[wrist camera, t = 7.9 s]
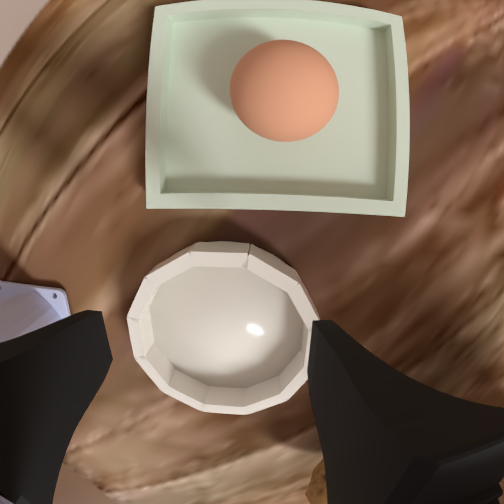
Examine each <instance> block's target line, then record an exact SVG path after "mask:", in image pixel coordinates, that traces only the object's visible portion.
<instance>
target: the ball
mask: <svg viewBox="0 0 504 504" xmlns="http://www.w3.org/2000/svg"><path fill="white" fill-rule="evenodd" d="M230 98H231V102H232V106H233V108H234V111H235V113H236V114H237V116H238V117H239V119H240V120H241V121H242V123H243V124H244V125H245V126H246V127H248V128H249V129H250V130H251V131H253V132H254V133H256V134H257V135H259V136H261V137H264V138H266V139H269V140H273V141H279V142H292V141H298V140H302V139H305V138H308V137H310V136H312V135H314V134H316V133H317V132H319V131H320V130H321V129H322V128H323V127H324V126H325V125H326V124H327V123H328V122H329V121H330V119H331V118H332V116H333V114H334V112H335V110H336V108H337V104H338V99H339V85H338V80H337V77H336V74H335V72H334V70H333V68H332V66H331V65H330V63H329V62H328V61H327V59H326V58H325V57H324V56H323V55H322V54H321V53H320V52H318V51H317V50H315V49H314V48H312V47H310V46H308V45H306V44H304V43H301V42H297V41H293V40H273V41H268V42H265V43H262V44H260V45H258V46H256V47H254V48H253V49H251V50H250V51H248V52H247V53H246V54H245V55H244V56H243V57H242V58H241V59H240V60H239V62H238V63H237V65H236V67H235V69H234V71H233V73H232V76H231V80H230Z"/></svg>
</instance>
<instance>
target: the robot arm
mask: <svg viewBox="0 0 504 504" xmlns="http://www.w3.org/2000/svg"><path fill="white" fill-rule="evenodd" d="M55 294H56V295H57V296H56V295H55ZM112 360H113V358H112V354H111V350H110V346H109V342H108V338H107V334H106V329H105V325H104V320H103V316H102V311H93V310H86V311H82V312H79V313H76V314H73V315H71V314H70V309H69V305H68V300H67V295H66V293H65V291H64V290H63V289H61V288H53V287H45V286H37V285H29V284H22V283H14V282H7V281H0V504H52V503H53V496H54V491H55V487H56V483H57V479H58V475H59V471H60V468H61V465H62V462H63V459H64V456H65V453H66V450H67V448H68V445H69V443H70V440H71V438H72V435H73V433H74V431H75V429H76V427H77V425H78V423H79V421H80V420H81V418H82V416H83V415H84V413H85V411H86V410H87V408H88V406H89V405H90V403H91V401H92V400H93V398H94V397H95V395H96V393H97V392H98V390H99V388H100V387H101V385H102V383H103V381H104V379H105V377H106V375H107V373H108V370H109V368H110V365H111V362H112ZM307 375H308V386H309V395H310V400H311V404H312V409H313V413H314V417H315V421H316V426H317V430H318V434H319V438H320V443H321V447H322V452H323V458H324V466H325V477H326V489H327V504H500V502H499V500H498V498H499V497H501V496H502V495H503V490H502V488H501V486H500V484H499V483H500V481H501V480H502V479H503V478H504V408H500V407H494V406H488V405H483V404H478V403H474V402H470V401H467V400H463V399H460V398H457V397H454V396H451V395H448V394H445V393H442V392H440V391H438V390H435V389H433V388H430V387H428V386H426V385H423V384H421V383H419V382H417V381H415V380H413V379H411V378H410V377H408V376H406V375H404V374H402V373H401V372H399V371H397V370H395V369H394V368H392V367H391V366H389V365H388V364H386V363H385V362H383V361H382V360H380V359H379V358H378V357H376V356H375V355H373V354H372V353H371V352H369V351H368V350H367V349H366V348H364V347H363V346H362V345H360V344H359V343H358V342H357V341H356V340H354V339H353V338H352V337H351V336H350V335H349V334H347V333H346V332H345V331H344V330H343V329H342V328H340V327H339V326H338V325H337V324H336V323H335V322H333V321H332V320H313V321H312V331H311V341H310V350H309V359H308V367H307Z"/></svg>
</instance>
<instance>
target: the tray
mask: <svg viewBox="0 0 504 504" xmlns="http://www.w3.org/2000/svg"><path fill="white" fill-rule="evenodd" d="M273 40H293V41H297V42H301V43H304V44H306V45H308V46H310V47H312V48H314V49H315V50H317V51H318V52H320V53H321V54H322V55H323V56H324V57H325V58H326V59H327V61H328V62H329V63H330V65H331V66H332V68H333V70H334V72H335V74H336V77H337V80H338V85H339V99H338V104H337V108H336V110H335V112H334V114H333V116H332V118H331V119H330V121H329V122H328V123H327V124H326V125H325V126H324V127H323V128H322V129H321V130H320V131H319V132H317V133H316V134H314V135H312V136H310V137H308V138H305V139H302V140H298V141H292V142H279V141H273V140H269V139H266V138H264V137H261V136H259V135H257V134H256V133H254V132H253V131H251V130H250V129H249V128H248V127H246V126H245V125H244V124H243V123H242V121H241V120H240V119H239V117H238V116H237V114H236V113H235V111H234V108H233V106H232V102H231V98H230V80H231V76H232V73H233V71H234V69H235V67H236V65H237V63H238V62H239V60H240V59H241V58H242V57H243V56H244V55H245V54H246V53H247V52H248V51H250V50H251V49H253V48H254V47H256V46H258V45H260V44H262V43H265V42H268V41H273ZM409 136H410V115H409V84H408V68H407V56H406V46H405V37H404V28H403V21H402V16H398V15H394V14H390V13H386V12H381V11H377V10H372V9H367V8H362V7H356V6H351V5H345V4H338V3H331V2H322V1H313V0H198V1H189V2H181V3H174V4H167V5H161V6H155V12H154V20H153V28H152V37H151V47H150V58H149V70H148V85H147V105H146V142H145V168H146V207H147V209H256V210H288V211H314V212H335V213H353V214H370V215H385V216H399V217H405V209H406V198H407V185H408V168H409Z"/></svg>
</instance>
